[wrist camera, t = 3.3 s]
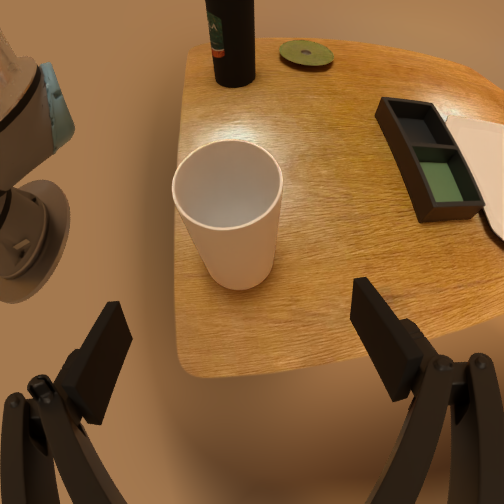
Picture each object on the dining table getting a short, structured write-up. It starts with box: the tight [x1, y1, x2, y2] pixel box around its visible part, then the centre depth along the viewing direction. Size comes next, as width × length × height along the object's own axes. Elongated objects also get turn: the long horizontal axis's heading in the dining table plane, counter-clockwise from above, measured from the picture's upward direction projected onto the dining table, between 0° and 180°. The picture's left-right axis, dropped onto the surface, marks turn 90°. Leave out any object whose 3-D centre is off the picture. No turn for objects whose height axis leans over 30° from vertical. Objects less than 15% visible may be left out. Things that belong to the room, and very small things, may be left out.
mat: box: [279, 40, 334, 66], centre depth 51 cm, size 11×11×2 cm
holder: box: [375, 97, 486, 223], centre depth 39 cm, size 11×21×5 cm, turn 6°
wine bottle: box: [205, 0, 255, 88], centre depth 35 cm, size 8×8×30 cm
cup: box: [172, 139, 283, 290], centre depth 29 cm, size 8×8×16 cm
